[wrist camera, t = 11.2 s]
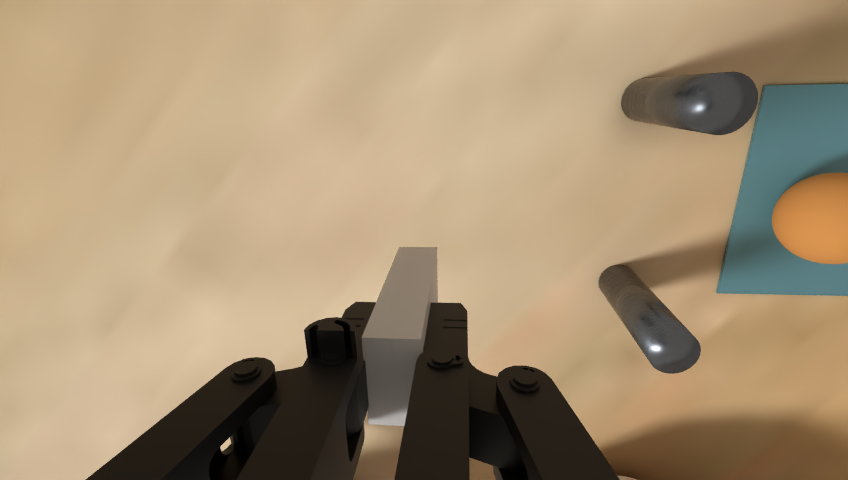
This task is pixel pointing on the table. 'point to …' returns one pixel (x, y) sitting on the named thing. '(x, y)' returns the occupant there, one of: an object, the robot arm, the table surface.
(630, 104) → the post
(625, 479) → the sculpture
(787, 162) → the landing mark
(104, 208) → the table surface
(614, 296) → the post
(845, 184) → the ball
